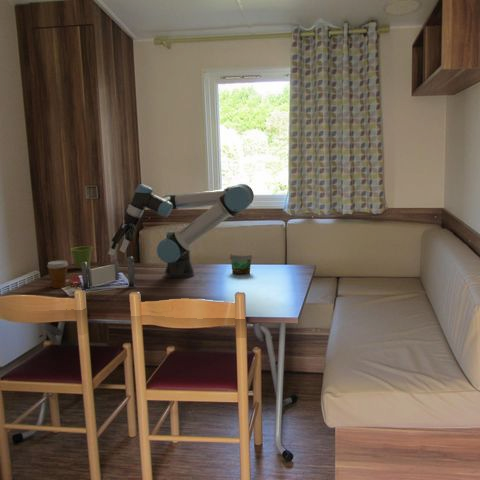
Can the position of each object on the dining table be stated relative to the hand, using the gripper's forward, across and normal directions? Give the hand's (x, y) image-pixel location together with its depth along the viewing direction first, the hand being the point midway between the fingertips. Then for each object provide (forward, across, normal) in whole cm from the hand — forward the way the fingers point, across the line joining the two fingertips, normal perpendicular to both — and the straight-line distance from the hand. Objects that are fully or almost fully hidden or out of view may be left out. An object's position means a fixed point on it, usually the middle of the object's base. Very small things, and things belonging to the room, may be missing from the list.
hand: (116, 253), depth 257 cm
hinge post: (+18, +14, -2) cm, 23 cm away
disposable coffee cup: (+25, +11, -16) cm, 31 cm away
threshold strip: (+14, +11, +8) cm, 19 cm away
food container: (-14, -24, +57) cm, 64 cm away
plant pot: (+26, -28, -24) cm, 45 cm away
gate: (+15, +5, +2) cm, 16 cm away
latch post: (+9, +8, +17) cm, 20 cm away
